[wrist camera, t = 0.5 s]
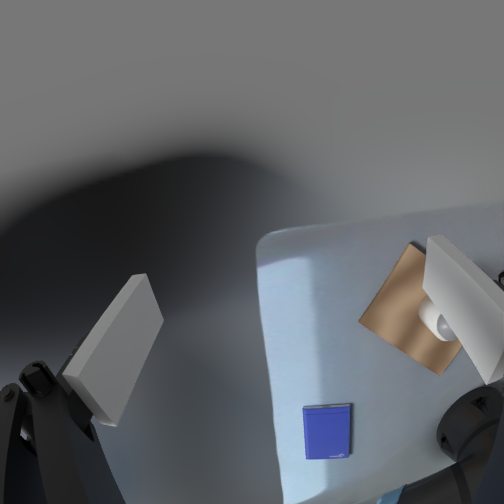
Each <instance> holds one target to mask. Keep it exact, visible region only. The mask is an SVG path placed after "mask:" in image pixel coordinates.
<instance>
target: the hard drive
mask: <svg viewBox="0 0 504 504" xmlns="http://www.w3.org/2000/svg"><path fill="white" fill-rule="evenodd" d="M303 421H304V437H305V452H306V459H338V458H348V457H349V443H350V404H342V405H327V406H304V407H303Z"/></svg>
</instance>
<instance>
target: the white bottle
mask: <svg viewBox="0 0 504 504" xmlns="http://www.w3.org/2000/svg"><path fill="white" fill-rule="evenodd" d="M418 315H419V318H420V320H421V321H422V322H423V323H424V324H425V325H426V326H427V327H428V328H429V329H430V330H431V331H432V332H433V333H434V334H435V336H436V337H437V338H439V339H440V340H442V341H454V340H457V339H458V338H457V336H456V335H455V333H454V332H453V330H452V329H451V327H450V326H449V324H448V323H447V321H446V320H445V318H444V317H443V315H442V314H441V313H440V311H439V310H438V308H437V307H436V306H435V304H434V303H433V301H432V300H431V299H430V297H429V296H428V295H426V296H425V297H424V298H423V299H422V300H421V302H420V304H419V307H418Z"/></svg>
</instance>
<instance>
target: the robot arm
mask: <svg viewBox="0 0 504 504" xmlns="http://www.w3.org/2000/svg"><path fill="white" fill-rule="evenodd" d="M422 288H423V289H424V291H425V292H426V293H427V295H428V296H429V297H430V299H431V300H432V301H433V303H434V304H435V306H436V307H437V308H438V310H439V311H440V313H441V314H442V315H443V317H444V318H445V320H446V321H447V323H448V324H449V326H450V327H451V329H452V330H453V332H454V333H455V335H456V336H457V338H458V339H459V341H460V342H461V344H462V345H463V347H464V349H465V350H466V352H467V353H468V355H469V356H470V358H471V360H472V361H473V363H474V365H475V366H476V368H477V370H478V371H479V373H480V375H481V377H482V378H483V380H484V382H485V384H486V385H488V384H491V383H493V382H495V381H497V380H499V379H501V378H502V376H503V374H504V285H503V284H501V283H499V282H498V281H496V280H492V279H490V278H489V277H488V276H487V275H486V274H485V273H484V272H483V271H482V270H481V269H480V268H479V267H478V266H477V265H476V264H474V263H473V262H472V261H471V260H470V259H469V258H468V257H467V256H466V255H464V254H463V253H462V252H461V251H460V250H459V249H458V248H456V247H455V246H454V245H453V244H452V243H451V242H449V241H448V240H447V239H446V238H445V237H443V236H442V235H434V236H428V239H427V252H426V262H425V271H424V280H423V287H422ZM163 321H164V320H163V317H162V315H161V312H160V310H159V307H158V304H157V302H156V299H155V297H154V294H153V291H152V289H151V286H150V283H149V281H148V278H147V275H146V274H139V275H133V276H132V277H131V278H130V279H129V280H128V282H127V283H126V285H125V286H124V287H123V288H122V290H121V291H120V292H119V294H118V295H117V296H116V298H115V299H114V300H113V302H112V303H111V304H110V306H109V307H108V308H107V310H106V311H105V312H104V314H103V315H102V316H101V318H100V319H99V321H98V322H97V323H96V325H95V326H94V328H93V329H92V331H91V332H89V333H88V334H86V335H85V336H84V337H83V338H82V339H81V340H80V341H79V343H78V344H77V345H76V347H75V348H76V349H74V350H73V351H72V353H71V356H69V357H68V359H67V360H66V362H65V363H64V365H63V366H62V368H61V369H60V371H59V372H58V374H57V375H56V377H55V376H54V375H53V373H52V372H51V371H50V369H49V368H48V366H47V365H46V363H45V362H43V361H35V362H32V363H30V364H29V365H27V366H26V367H25V368H24V369H23V370H22V372H21V373H20V376H19V380H20V382H21V383H22V384H23V386H24V387H25V388H26V389H27V391H28V392H23V391H22V389H21V388H20V387H19V386H18V385H17V384H15V383H11V384H9V385H6V386H5V387H3V389H2V390H1V391H0V504H126V503H125V501H124V499H123V497H122V495H121V492H120V490H119V488H118V486H117V484H116V482H115V479H114V477H113V475H112V472H111V470H110V468H109V465H108V463H107V460H106V458H105V455H104V452H103V450H102V447H101V444H100V442H99V439H98V436H97V433H96V430H95V427H94V425H93V424H92V422H91V421H90V420H91V418H92V416H93V415H94V416H95V417H96V419H98V421H99V422H100V423H101V424H105V425H111V426H117V425H118V423H119V420H120V417H121V415H122V413H123V410H124V408H125V406H126V403H127V401H128V398H129V396H130V394H131V392H132V389H133V387H134V385H135V382H136V380H137V378H138V375H139V373H140V371H141V369H142V367H143V364H144V362H145V360H146V358H147V356H148V353H149V351H150V349H151V347H152V345H153V342H154V340H155V338H156V336H157V334H158V332H159V330H160V327H161V325H162V323H163ZM503 393H504V387H503V388H502V390H501V393H499V392H498V391H497V390H496V389H494V388H490V387H483V388H479V389H476V390H473V391H471V392H469V393H467V394H465V395H464V396H462V397H461V398H460V399H458V400H457V401H456V402H455V403H454V404H453V405H452V406H451V407H450V408H449V409H448V410H447V412H446V413H445V415H444V416H443V418H442V419H441V421H440V424H439V426H438V430H437V440H438V443H439V446H440V448H441V450H442V451H443V452H444V453H445V454H446V455H447V456H448V457H450V458H451V459H452V460H454V461H455V462H456V463H455V464H453V465H451V466H449V467H447V468H445V469H443V470H441V471H439V472H437V473H435V474H432V475H430V476H428V477H425V478H423V479H421V480H418V481H416V482H413V483H411V484H408V485H407V484H405V485H403V486H402V487H401V488H398V489H396V490H393V491H391V492H388V493H386V494H384V495H383V496H381V497H380V499H379V500H378V502H377V504H504V397H503V396H502V395H501V394H503ZM21 429H22V431H23V432H25V434H27V439H26V440H25V439H24V438H23V437H22V436H20V433H21Z"/></svg>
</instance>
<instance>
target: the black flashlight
mask: <svg viewBox="0 0 504 504" xmlns="http://www.w3.org/2000/svg"><path fill="white" fill-rule="evenodd" d="M499 283H501V284H503V285H504V272H502V273H501V274H500V275H499Z"/></svg>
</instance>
